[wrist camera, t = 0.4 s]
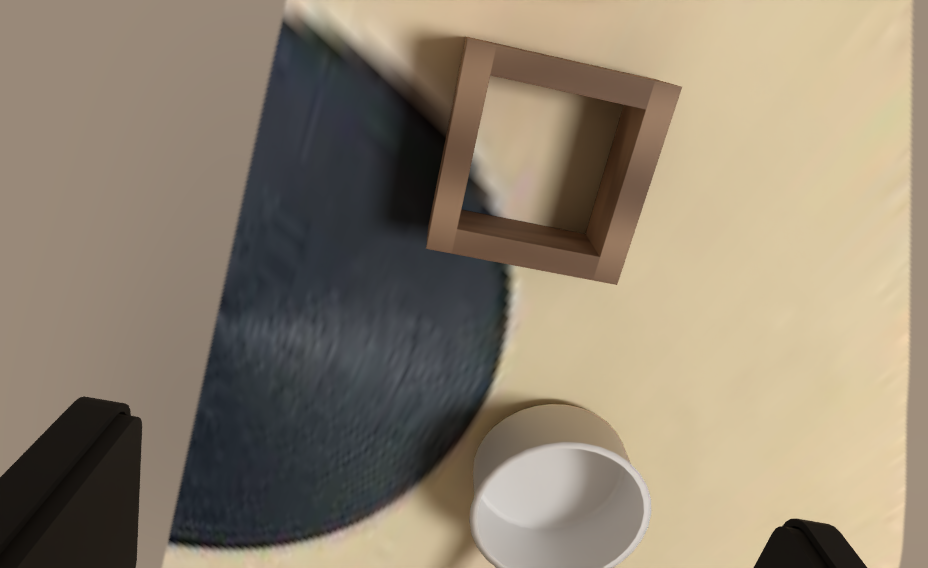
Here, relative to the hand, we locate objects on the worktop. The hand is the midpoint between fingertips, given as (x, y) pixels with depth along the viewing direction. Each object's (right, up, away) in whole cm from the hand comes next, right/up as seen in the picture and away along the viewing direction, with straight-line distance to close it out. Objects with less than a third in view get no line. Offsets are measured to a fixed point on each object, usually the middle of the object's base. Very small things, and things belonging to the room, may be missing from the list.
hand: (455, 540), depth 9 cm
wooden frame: (+4, +11, +27) cm, 30 cm away
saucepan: (+5, -12, +37) cm, 39 cm away
